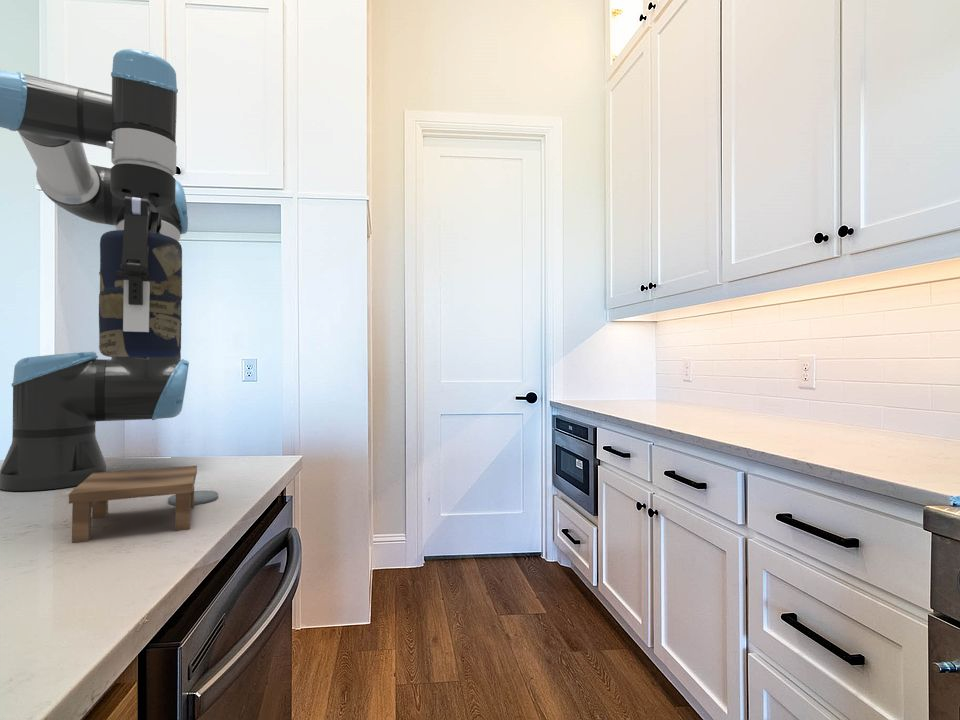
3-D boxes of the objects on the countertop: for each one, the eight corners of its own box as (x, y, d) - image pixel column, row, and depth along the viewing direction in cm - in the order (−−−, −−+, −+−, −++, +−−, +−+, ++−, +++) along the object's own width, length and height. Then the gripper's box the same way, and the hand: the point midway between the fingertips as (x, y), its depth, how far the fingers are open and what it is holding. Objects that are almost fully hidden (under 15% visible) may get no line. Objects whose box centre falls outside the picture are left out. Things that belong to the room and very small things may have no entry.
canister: (140, 359, 65) (142, 217, 66) (79, 359, 67) (81, 221, 68) (196, 360, 75) (198, 236, 75) (141, 360, 77) (143, 238, 77)
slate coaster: (170, 496, 84) (170, 493, 84) (218, 492, 87) (218, 488, 87) (165, 507, 78) (165, 503, 78) (218, 502, 81) (218, 498, 81)
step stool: (92, 515, 74) (92, 472, 74) (196, 504, 80) (196, 465, 80) (68, 543, 62) (68, 493, 62) (191, 529, 68) (192, 483, 68)
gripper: (125, 191, 80) (122, 336, 79) (92, 133, 60) (89, 327, 60) (181, 198, 83) (179, 338, 83) (168, 146, 63) (165, 330, 63)
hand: (141, 333), depth 71 cm, fingers closed on canister, 9 cm apart
